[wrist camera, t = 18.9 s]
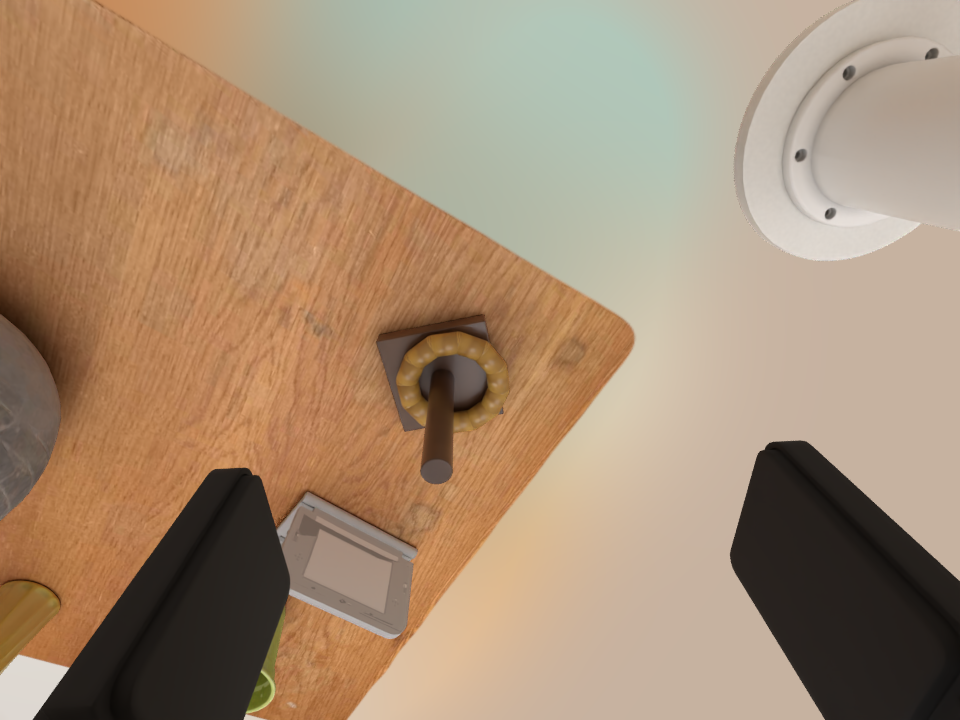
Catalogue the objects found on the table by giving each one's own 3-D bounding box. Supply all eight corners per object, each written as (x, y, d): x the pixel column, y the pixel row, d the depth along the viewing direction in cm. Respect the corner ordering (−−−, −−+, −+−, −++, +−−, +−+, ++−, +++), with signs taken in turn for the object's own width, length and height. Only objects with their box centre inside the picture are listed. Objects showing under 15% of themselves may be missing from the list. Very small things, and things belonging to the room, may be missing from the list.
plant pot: (261, 644, 57) (230, 726, 49) (196, 602, 54) (152, 684, 46) (318, 610, 55) (295, 691, 47) (254, 565, 51) (218, 644, 44)
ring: (500, 321, 38) (502, 330, 37) (513, 417, 43) (515, 428, 41) (387, 337, 39) (384, 347, 37) (411, 431, 43) (409, 443, 41)
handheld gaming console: (263, 543, 50) (220, 635, 41) (308, 489, 47) (273, 575, 38) (370, 594, 54) (352, 688, 45) (417, 547, 51) (409, 637, 42)
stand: (484, 314, 40) (495, 398, 28) (502, 405, 44) (518, 513, 32) (378, 334, 40) (343, 425, 28) (406, 422, 44) (385, 536, 32)
